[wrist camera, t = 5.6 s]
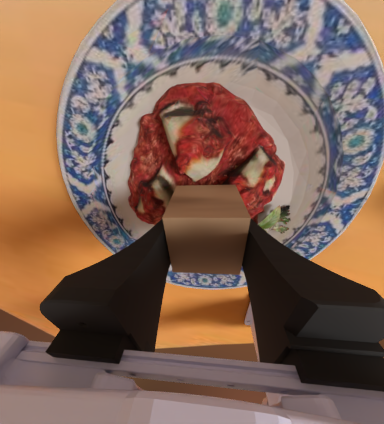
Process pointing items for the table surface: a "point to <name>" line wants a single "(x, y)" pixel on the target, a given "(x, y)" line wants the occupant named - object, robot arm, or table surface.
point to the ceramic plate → (223, 118)
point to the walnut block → (206, 229)
